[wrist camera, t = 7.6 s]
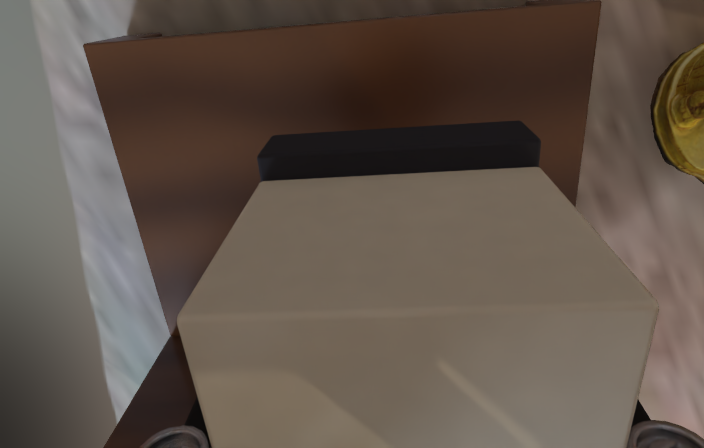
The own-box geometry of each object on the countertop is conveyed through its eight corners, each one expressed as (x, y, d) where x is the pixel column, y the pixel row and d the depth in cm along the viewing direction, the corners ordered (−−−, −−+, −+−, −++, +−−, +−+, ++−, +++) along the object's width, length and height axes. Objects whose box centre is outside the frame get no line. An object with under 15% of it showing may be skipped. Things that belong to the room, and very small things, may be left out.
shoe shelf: (124, 35, 25) (-69, 74, 14) (568, -3, 23) (729, 9, 12) (197, 308, 32) (105, 469, 22) (538, 296, 31) (623, 466, 20)
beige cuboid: (271, 134, 11) (160, 281, 5) (521, 119, 10) (673, 262, 5) (324, 495, 16) (295, 754, 11) (493, 494, 16) (554, 765, 10)
